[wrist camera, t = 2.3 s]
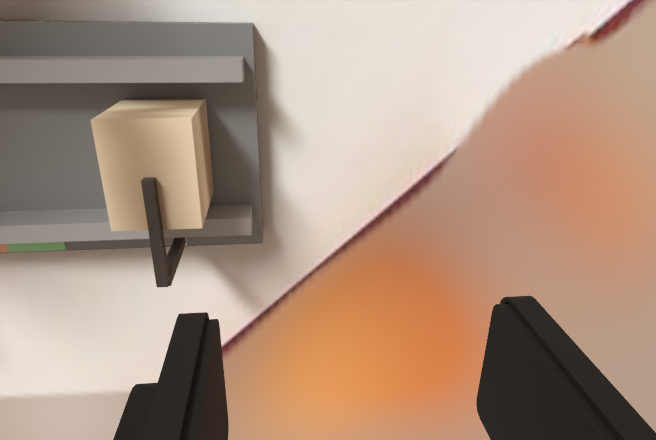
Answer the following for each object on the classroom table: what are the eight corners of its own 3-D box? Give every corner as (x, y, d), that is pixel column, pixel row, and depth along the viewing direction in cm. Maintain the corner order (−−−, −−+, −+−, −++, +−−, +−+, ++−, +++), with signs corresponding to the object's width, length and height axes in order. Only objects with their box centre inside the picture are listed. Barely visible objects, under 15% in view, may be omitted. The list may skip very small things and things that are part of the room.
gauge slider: (205, 97, 25) (189, 121, 20) (218, 238, 28) (206, 289, 23) (124, 98, 24) (86, 122, 19) (146, 241, 27) (118, 293, 22)
